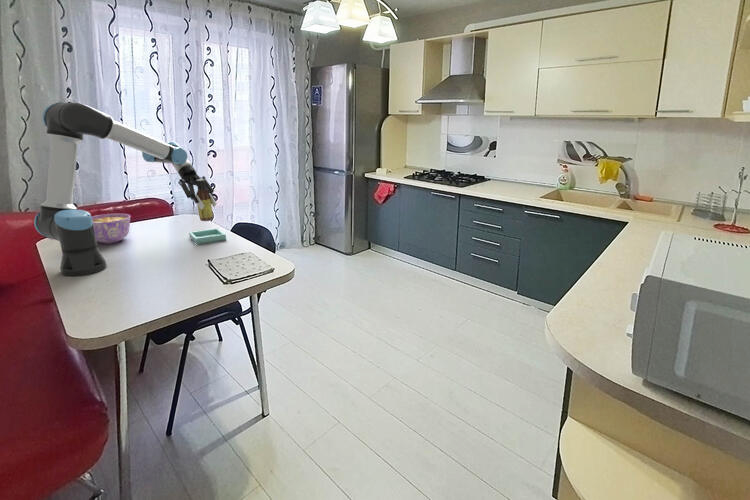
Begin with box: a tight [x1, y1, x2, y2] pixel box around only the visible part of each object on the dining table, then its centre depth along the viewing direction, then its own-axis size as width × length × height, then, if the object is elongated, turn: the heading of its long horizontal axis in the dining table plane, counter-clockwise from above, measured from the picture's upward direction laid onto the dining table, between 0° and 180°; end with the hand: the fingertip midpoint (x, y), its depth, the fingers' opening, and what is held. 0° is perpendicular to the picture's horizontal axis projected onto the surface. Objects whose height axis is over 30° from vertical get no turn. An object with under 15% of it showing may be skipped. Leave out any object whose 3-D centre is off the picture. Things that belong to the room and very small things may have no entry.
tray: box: [188, 228, 227, 245], centre depth 211 cm, size 14×14×3 cm
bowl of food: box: [91, 213, 131, 245], centre depth 205 cm, size 20×20×12 cm
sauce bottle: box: [195, 179, 214, 222], centre depth 206 cm, size 6×6×20 cm
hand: (208, 206), depth 205 cm, fingers closed on sauce bottle, 6 cm apart
